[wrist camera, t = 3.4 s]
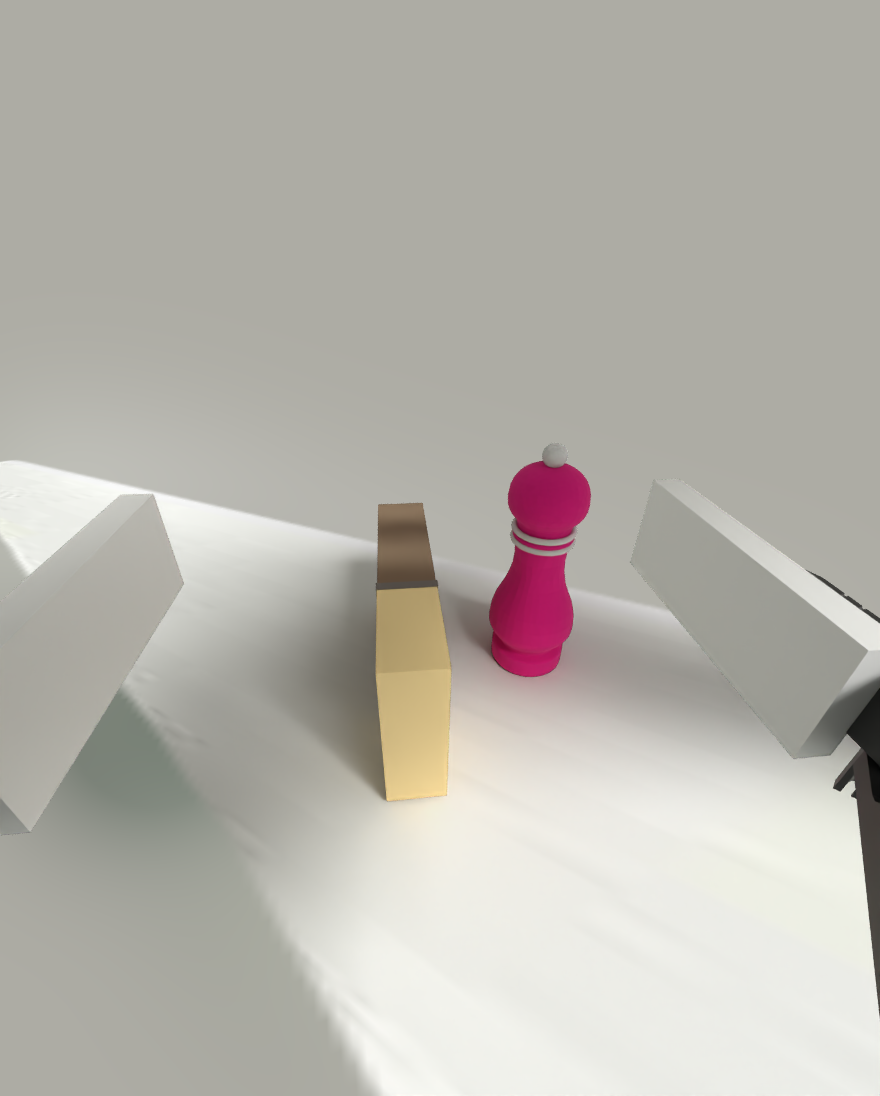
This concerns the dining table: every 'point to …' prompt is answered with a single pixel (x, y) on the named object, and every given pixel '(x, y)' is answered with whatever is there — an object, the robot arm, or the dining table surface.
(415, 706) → the stub
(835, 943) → the dining table surface
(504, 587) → the pepper mill
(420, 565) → the block
